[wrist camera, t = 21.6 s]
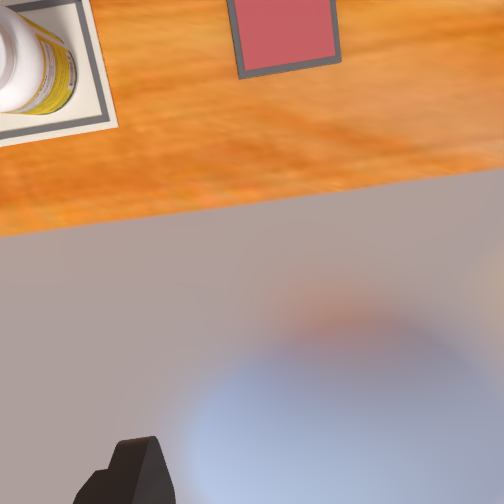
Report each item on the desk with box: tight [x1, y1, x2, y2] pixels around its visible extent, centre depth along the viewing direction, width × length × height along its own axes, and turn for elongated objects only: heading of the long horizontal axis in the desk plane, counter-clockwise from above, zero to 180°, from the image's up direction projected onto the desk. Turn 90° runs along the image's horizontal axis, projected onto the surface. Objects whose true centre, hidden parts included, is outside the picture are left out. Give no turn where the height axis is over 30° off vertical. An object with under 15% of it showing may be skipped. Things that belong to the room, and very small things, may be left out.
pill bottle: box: [0, 5, 79, 115], centre depth 29 cm, size 6×6×11 cm
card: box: [0, 0, 119, 147], centre depth 34 cm, size 10×10×1 cm
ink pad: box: [227, 0, 342, 80], centre depth 34 cm, size 8×8×1 cm
